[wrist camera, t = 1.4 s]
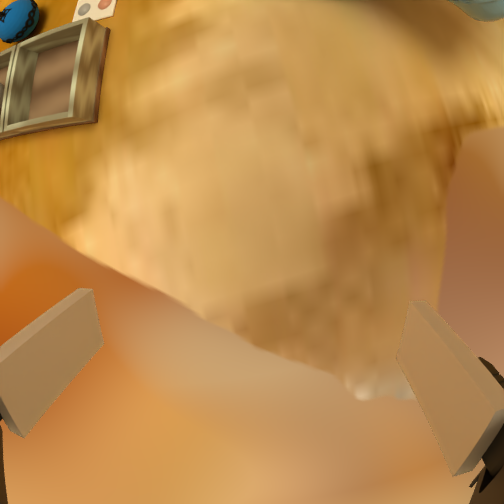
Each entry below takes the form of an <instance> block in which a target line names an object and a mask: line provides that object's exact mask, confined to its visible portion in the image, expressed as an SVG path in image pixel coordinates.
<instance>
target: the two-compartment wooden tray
mask: <svg viewBox="0 0 504 504" xmlns="http://www.w3.org/2000/svg"><path fill="white" fill-rule="evenodd" d="M109 34H110V29H109V28H108V27H106V28H104V27H103V26H101V25H100V24H98V23H97V22H96V21H94V20H93V19H91V18H90V17H87V18H84V19H81V20H78V21H75V22H72V23H69V24H66V25H63V26H60V27H57V28H55V29H52V30H49V31H47V32H44V33H42V34H39V35H37V36H35V37H32V38H30V39H28V40H25V41H23V42H21V43H19V44H18V45H15V46H12V47H10V48H8V49H6V50H4V51H2V52H0V83H2V84H3V85H4V87H5V89H4V95H3V102H2V107H1V108H0V140H3V139H7V138H11V137H16V136H20V135H25V134H29V133H34V132H39V131H45V130H50V129H56V128H62V127H68V126H74V125H81V124H88V123H96V122H98V111H99V100H100V91H101V83H102V76H103V68H104V62H105V56H106V50H107V44H108V39H109Z"/></svg>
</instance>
